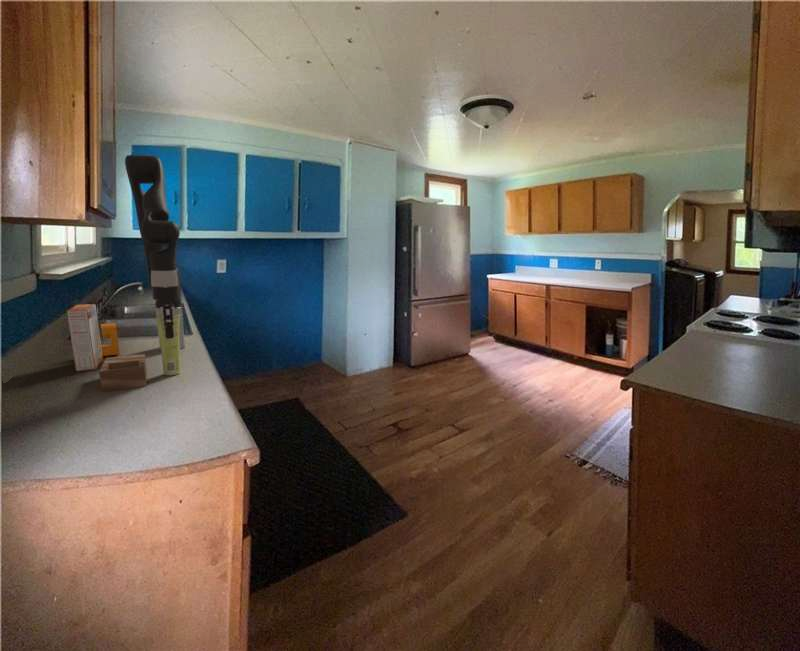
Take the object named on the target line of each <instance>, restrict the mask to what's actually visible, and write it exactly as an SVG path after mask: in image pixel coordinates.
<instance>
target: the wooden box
mask: <svg viewBox="0 0 800 651" xmlns="http://www.w3.org/2000/svg"><path fill="white" fill-rule="evenodd" d="M147 367H148V366H147V358H146V354H145V353H142V354H133V355H123V356H122V355H120V356H113V357H112V356H109V357H105V358H104V360H103V363H102V365H101V367H100V370H99V380H100V388H101V392H102V393H103V392H104V393H105V392H110V391H117V390H119V391H120V390H126V389H133V388H141V387H142V386H143V387H147V379H148V376H147V375H148V369H147Z"/></svg>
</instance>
